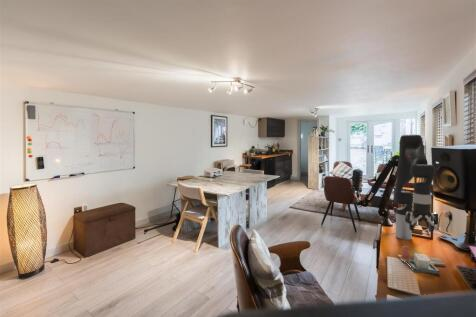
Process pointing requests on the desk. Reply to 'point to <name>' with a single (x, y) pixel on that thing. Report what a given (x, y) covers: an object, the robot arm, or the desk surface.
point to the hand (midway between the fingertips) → (421, 231)
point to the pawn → (405, 252)
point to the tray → (431, 269)
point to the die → (421, 261)
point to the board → (432, 260)
